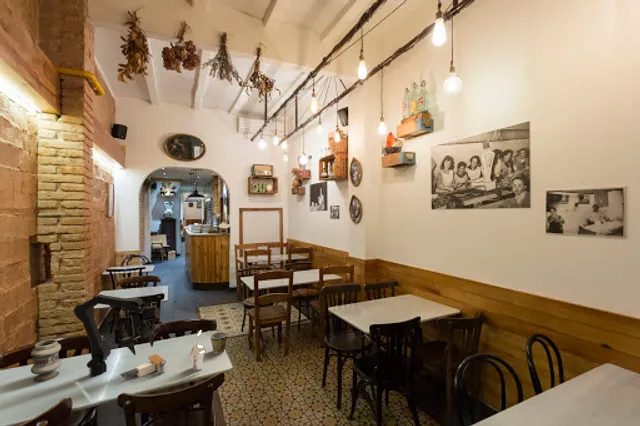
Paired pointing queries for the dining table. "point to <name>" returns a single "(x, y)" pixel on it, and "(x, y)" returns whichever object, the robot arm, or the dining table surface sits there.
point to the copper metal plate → (157, 360)
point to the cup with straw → (197, 355)
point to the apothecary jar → (46, 360)
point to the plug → (143, 369)
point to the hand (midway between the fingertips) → (143, 350)
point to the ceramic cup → (218, 342)
